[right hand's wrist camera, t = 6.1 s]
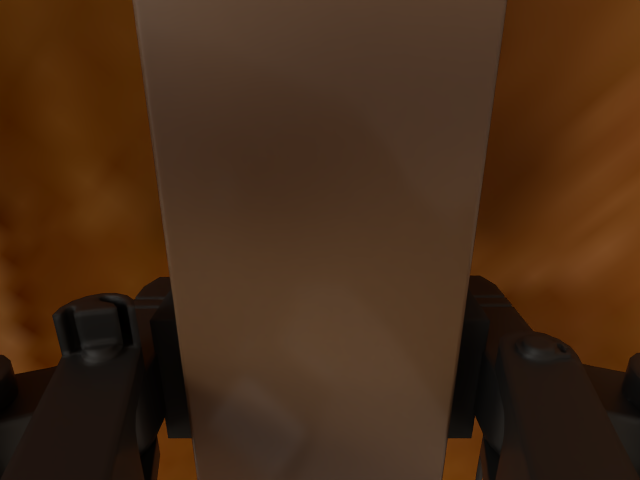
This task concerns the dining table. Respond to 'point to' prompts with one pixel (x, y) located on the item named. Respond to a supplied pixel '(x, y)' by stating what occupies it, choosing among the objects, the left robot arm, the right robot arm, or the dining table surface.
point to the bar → (319, 223)
